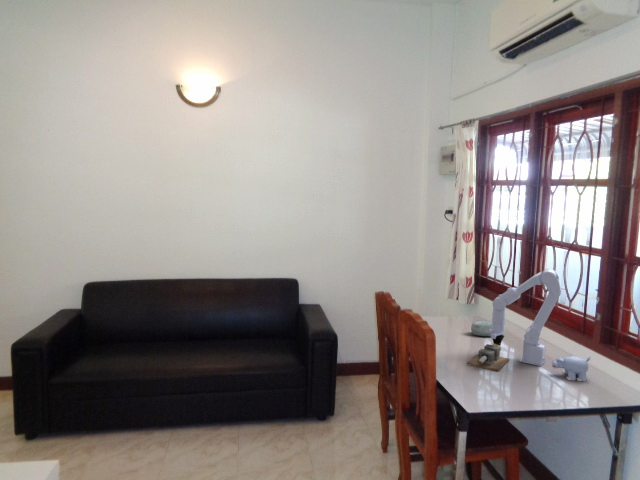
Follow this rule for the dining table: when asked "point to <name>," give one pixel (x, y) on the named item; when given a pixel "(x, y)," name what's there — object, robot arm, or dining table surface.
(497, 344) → the shaft
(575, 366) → the hippopotamus toy
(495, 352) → the bearing frame
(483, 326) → the pale green pouf
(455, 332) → the dining table surface
